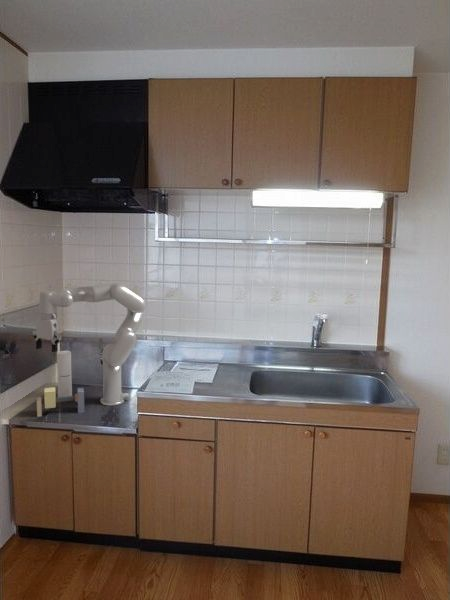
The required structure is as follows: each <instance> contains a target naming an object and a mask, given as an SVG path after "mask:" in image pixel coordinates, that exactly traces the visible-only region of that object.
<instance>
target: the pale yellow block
mask: <svg viewBox="0 0 450 600" xmlns="http://www.w3.org/2000/svg"><path fill="white" fill-rule="evenodd" d="M43 392H44V394H43V395H44V396H43V398H44V400H45V403H44V409H54V408H56V407H57V404H56V403H57V402H56V399H55V398H56V397H57V396H56V393H57V392H56V387H54V386H53V387H45V388H44V391H43Z"/></svg>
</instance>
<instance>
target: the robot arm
mask: <svg viewBox="0 0 450 600" xmlns="http://www.w3.org/2000/svg"><path fill="white" fill-rule="evenodd" d="M38 300H39V303H38V306H39V308H38V309H39V311H38V319H37V324H36V329H34V330H33V331H32V335H33V338H34V340H35V344H36V345H35V346H36V347H35V349H36V350H41V349H42V347H43V340H47V341H51V343H52V344H51V353H55V352H56V353H57V352H58V345H59V343H60V342H61V340H62V337H63V335H61V334H60V333H59V324H58V320H57V318H58V316H57V313H56V312H57V311H56V310H57V309H56V308H57V307H60V308H67V307H70V306H71V305H72V304H73V303H75V302H76V303H77V302H86V303H100V302H106V301H113V300H114V301H115V302H118V303H119V304H120V305H122V306H123V307H125V308H126V311H127V313H126V316H125V318H124V320H123V322H122V323H121V324H120V326H119V327H118V329H117V330H116V332H115V334H114V339H115V341H116V342H115V343H107V344H105V346H104V347H103V349H102V351H101V352H102V354H101V359H102V378H103V379H102V381H103V383H102V385H103V386H102V387H103V388H102V389H103V391H102V392H103V393H102V394H103V397H101V398H100V404H102V405H103V406H110V407H111V406H118V405H122V404H123V403H125V399H126V398H131V394H130V393H128V392H125V393H124V392H123V391H122V370H123V369H122V365H123V364H124V363H125V362H126V360H127V359H128V357H129V356H130V355H131V353H132V352H133V350H134V348H135V346H136V344H137V341H138V339H137V335H136V332H137V331H138V329H139V328H140V325H141V324H142V321H143V319H144V318H143V317H144V311H145V309H146V301H145V300H144V299H143V298H142V297H140V296H139V295H138V294H136V293H135V292H133V291H132V290H130V289H129V288H127V287H126V286H125V285H123V284H121V283H120V282H119V283H118V282H111V283H105V284H99V285H98V284H97V285H96V284H95V285H88V286H79V287H78V286H77V287H69V288H63V289H60V290H58V291H57V292H55V291H51V290H43V291H40V292H39V299H38Z"/></svg>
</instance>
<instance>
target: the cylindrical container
mask: <svg viewBox="0 0 450 600" xmlns="http://www.w3.org/2000/svg"><path fill="white" fill-rule="evenodd" d="M56 355H57V356H56V360H57V361H56V363H57V397H64V396H73V383H72V381H73V380H72V379H73V377H72V374H73V373H72V351H70V350H60V351H59V350H58V351H56Z"/></svg>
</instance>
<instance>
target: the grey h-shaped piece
mask: <svg viewBox="0 0 450 600" xmlns="http://www.w3.org/2000/svg"><path fill="white" fill-rule="evenodd" d="M76 389H77V393H75V394H74V395H72V396H64V397H58V396H56V398H55V399H56V403H58V402H59V403H60V402H61V403H62V402H69V401H70V402H71V401H74V402H75V403H77V413H78V414H82V413H85V390H84V387H78V388H76ZM43 404H45V400H44V397H40V396H39V397H37V398H36V415H37V416H36V417H38V418H39V417H43Z"/></svg>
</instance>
